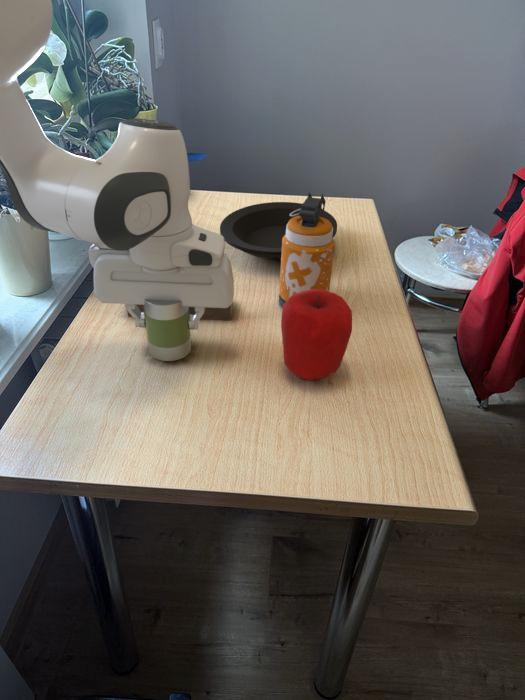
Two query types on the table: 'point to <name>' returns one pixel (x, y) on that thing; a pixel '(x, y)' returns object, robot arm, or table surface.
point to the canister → (306, 251)
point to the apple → (315, 333)
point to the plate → (262, 227)
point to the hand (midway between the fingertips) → (168, 326)
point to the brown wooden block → (206, 312)
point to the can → (167, 329)
